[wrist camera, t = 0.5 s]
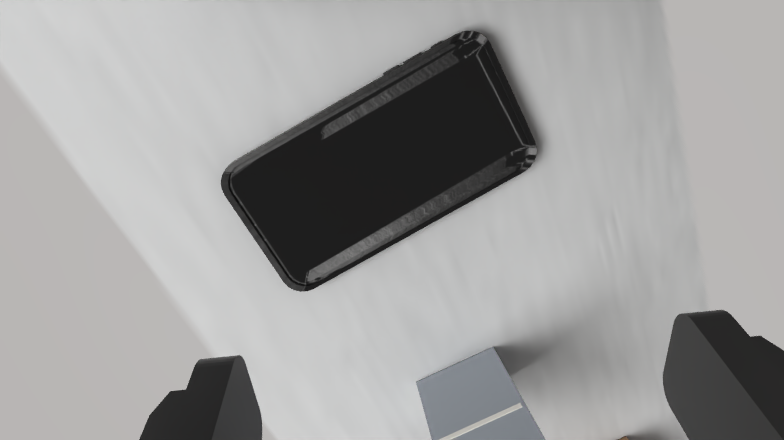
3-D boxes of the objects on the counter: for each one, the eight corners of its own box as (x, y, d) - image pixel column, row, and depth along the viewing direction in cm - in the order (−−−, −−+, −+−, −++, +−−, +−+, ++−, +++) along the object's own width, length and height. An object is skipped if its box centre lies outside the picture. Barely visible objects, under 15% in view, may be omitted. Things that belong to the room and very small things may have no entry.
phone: (544, 160, 29) (295, 299, 30) (535, 156, 30) (296, 290, 31) (479, 19, 27) (210, 173, 27) (473, 20, 28) (214, 169, 28)
